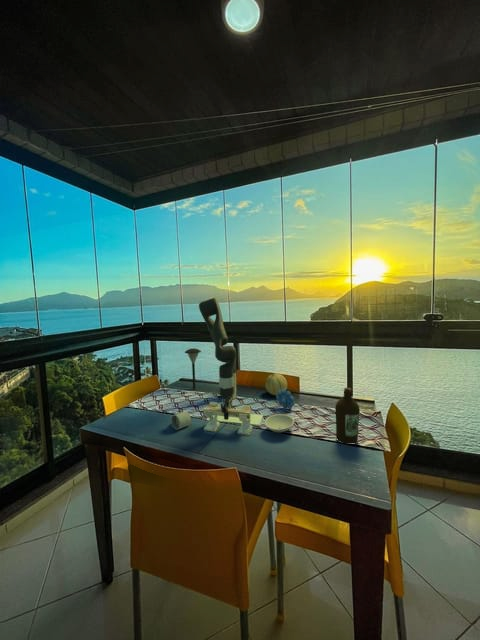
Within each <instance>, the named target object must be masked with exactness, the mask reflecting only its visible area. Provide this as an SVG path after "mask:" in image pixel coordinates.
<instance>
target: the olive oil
mask: <svg viewBox="0 0 480 640" xmlns="http://www.w3.org/2000/svg"><path fill="white" fill-rule="evenodd" d="M352 393H353V392H352V388H351V387H344V389H343V396H342V397H340V398H339V399H338V400H337V401H336V404H335V409H334V410H335V411H334V412H335V433H336V435H335V436H336V437H335V438H337V439H338V440H339V441H341V442H343V443H356V442H357V443H358V441H357V440H358V438H359V437H358V436H359V423H360V422H359V421H360V412H361V410H360V406H359V404H358V402H357V401H356V400H355V399H354V398H353V397H352V396H353V395H352ZM337 439H336V440H337ZM338 440H337V441H338ZM339 441H338V442H339ZM357 443H356V444H357Z"/></svg>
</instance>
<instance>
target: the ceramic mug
mask: <svg viewBox="0 0 480 640" xmlns="http://www.w3.org/2000/svg"><path fill="white" fill-rule="evenodd" d="M170 421H171V426H172V427H173V428H174V429H175V430H181V429H183V428H185V427H187V426H189V425H190V424H191V422H192V417H191V414H190V413H189V412H187V411H182V412H180V413H176V414H173V415H172V416H171V420H170Z"/></svg>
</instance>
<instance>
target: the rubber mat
mask: <svg viewBox="0 0 480 640" xmlns="http://www.w3.org/2000/svg"><path fill="white" fill-rule="evenodd" d="M263 417H264V415H263V414H256V413H255V414H254V413H251V426H256V425H257V426H260V425H261V423H262V420H263ZM205 420H206V421H208V422H209V421H210V418H206V419H205ZM218 422H220V423H227V424H237V425H242V421H240V419H239V418H237V417H229V419H228V420H225V419H224V416H218Z"/></svg>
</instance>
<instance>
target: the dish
mask: <svg viewBox="0 0 480 640" xmlns="http://www.w3.org/2000/svg"><path fill="white" fill-rule="evenodd" d="M263 423H264V425H265V427H266V428H268V429H269V430H270V431H271V432H274V433H284V432H286V431H288V430H289V429H291V428H292V427H293V426H294V424H295V419H294V418H293V417H292V416H290V415H287V414H282V413H278V414H272V415H270V416H268V417H267V418H266V419H264V422H263Z"/></svg>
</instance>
